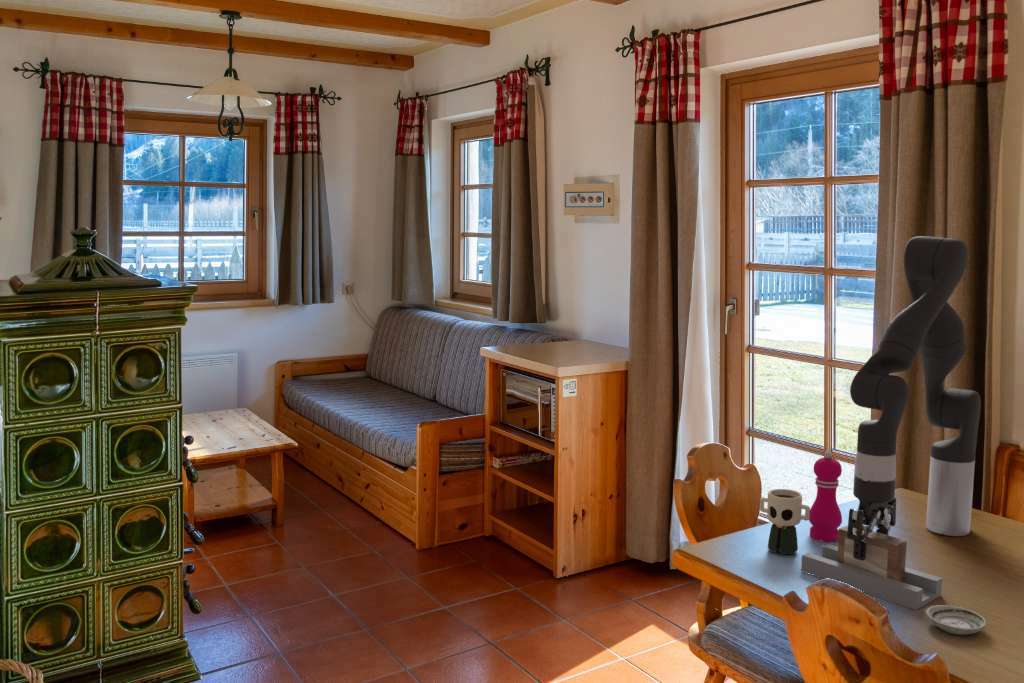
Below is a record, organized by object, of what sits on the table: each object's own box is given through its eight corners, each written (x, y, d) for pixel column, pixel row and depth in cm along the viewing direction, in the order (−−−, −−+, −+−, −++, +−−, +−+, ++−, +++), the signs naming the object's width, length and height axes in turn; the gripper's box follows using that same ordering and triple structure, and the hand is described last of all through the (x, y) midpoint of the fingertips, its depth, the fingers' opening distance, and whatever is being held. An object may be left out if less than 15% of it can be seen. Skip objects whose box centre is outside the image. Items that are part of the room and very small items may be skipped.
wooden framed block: (847, 566, 186) (849, 524, 185) (904, 584, 177) (906, 540, 176) (836, 571, 184) (838, 529, 182) (893, 590, 174) (896, 545, 173)
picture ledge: (827, 559, 193) (828, 543, 192) (941, 595, 175) (942, 578, 174) (801, 571, 186) (801, 555, 186) (916, 610, 168) (917, 592, 168)
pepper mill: (843, 543, 202) (848, 456, 200) (809, 541, 204) (813, 454, 201) (838, 532, 209) (842, 448, 207) (805, 530, 211) (809, 446, 208)
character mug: (752, 550, 198) (754, 493, 196) (763, 541, 204) (766, 485, 202) (802, 561, 192) (805, 502, 190) (812, 551, 197) (815, 493, 196)
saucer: (957, 645, 155) (958, 632, 154) (912, 622, 163) (913, 609, 163) (998, 636, 158) (999, 622, 158) (952, 613, 167) (953, 601, 167)
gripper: (875, 463, 185) (871, 540, 187) (837, 477, 176) (833, 557, 178) (911, 471, 179) (906, 550, 181) (874, 485, 170) (869, 568, 172)
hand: (870, 553), depth 180 cm, fingers open, 8 cm apart
